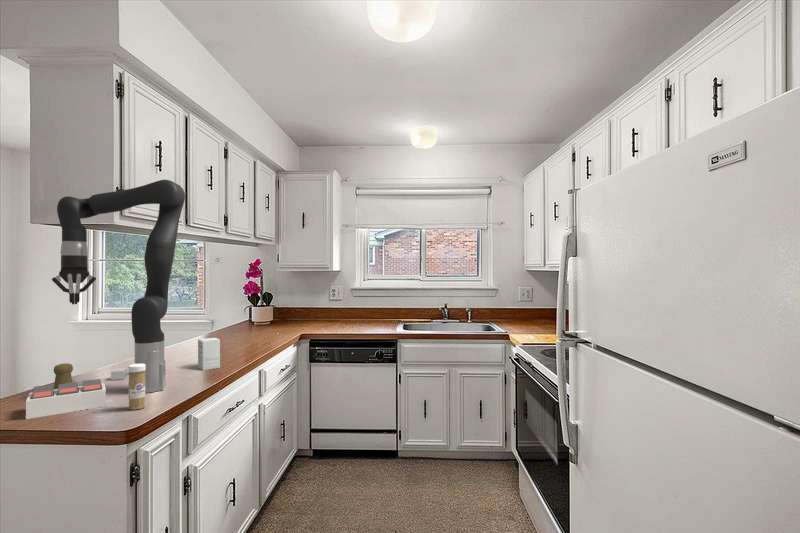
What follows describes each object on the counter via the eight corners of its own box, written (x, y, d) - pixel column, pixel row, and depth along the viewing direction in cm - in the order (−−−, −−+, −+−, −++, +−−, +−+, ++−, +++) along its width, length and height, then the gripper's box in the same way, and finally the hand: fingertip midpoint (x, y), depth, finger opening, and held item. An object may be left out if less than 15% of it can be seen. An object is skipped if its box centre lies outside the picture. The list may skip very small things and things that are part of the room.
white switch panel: (104, 398, 144) (104, 383, 144) (105, 406, 136) (105, 389, 136) (29, 409, 133) (29, 392, 133) (25, 419, 125) (25, 401, 125)
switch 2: (100, 382, 142) (100, 378, 142) (101, 391, 137) (101, 387, 136) (82, 384, 139) (82, 380, 139) (82, 394, 134) (82, 390, 133)
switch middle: (77, 385, 139) (77, 381, 138) (77, 395, 133) (77, 390, 133) (58, 387, 136) (58, 383, 135) (57, 397, 130) (57, 393, 130)
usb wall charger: (115, 378, 172) (115, 368, 172) (134, 377, 173) (134, 367, 173) (111, 380, 168) (111, 370, 168) (131, 379, 170) (131, 369, 170)
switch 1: (53, 387, 135) (53, 383, 135) (52, 399, 130) (52, 395, 129) (33, 390, 132) (33, 386, 132) (31, 402, 127) (31, 398, 126)
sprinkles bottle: (133, 411, 131) (133, 366, 131) (125, 409, 133) (125, 365, 133) (148, 407, 135) (148, 363, 135) (140, 405, 137) (140, 362, 137)
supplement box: (215, 365, 194) (215, 337, 194) (220, 368, 189) (220, 339, 189) (197, 367, 190) (197, 338, 190) (202, 370, 184) (202, 341, 184)
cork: (78, 393, 150) (78, 362, 150) (65, 398, 144) (65, 365, 144) (60, 394, 150) (60, 362, 150) (47, 399, 144) (47, 366, 144)
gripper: (97, 255, 159) (97, 302, 159) (50, 254, 151) (50, 304, 151) (97, 254, 153) (97, 303, 153) (49, 254, 145) (49, 305, 145)
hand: (74, 304), depth 152 cm, fingers closed
